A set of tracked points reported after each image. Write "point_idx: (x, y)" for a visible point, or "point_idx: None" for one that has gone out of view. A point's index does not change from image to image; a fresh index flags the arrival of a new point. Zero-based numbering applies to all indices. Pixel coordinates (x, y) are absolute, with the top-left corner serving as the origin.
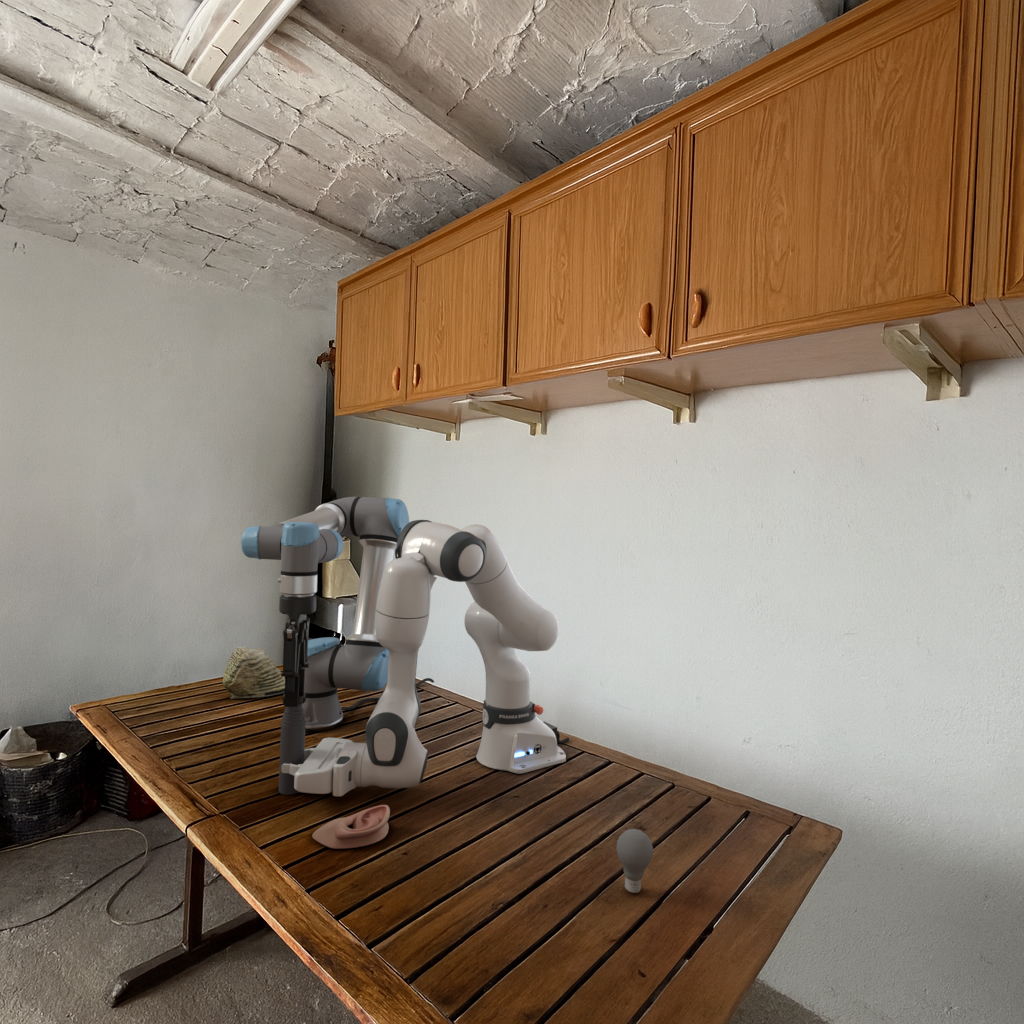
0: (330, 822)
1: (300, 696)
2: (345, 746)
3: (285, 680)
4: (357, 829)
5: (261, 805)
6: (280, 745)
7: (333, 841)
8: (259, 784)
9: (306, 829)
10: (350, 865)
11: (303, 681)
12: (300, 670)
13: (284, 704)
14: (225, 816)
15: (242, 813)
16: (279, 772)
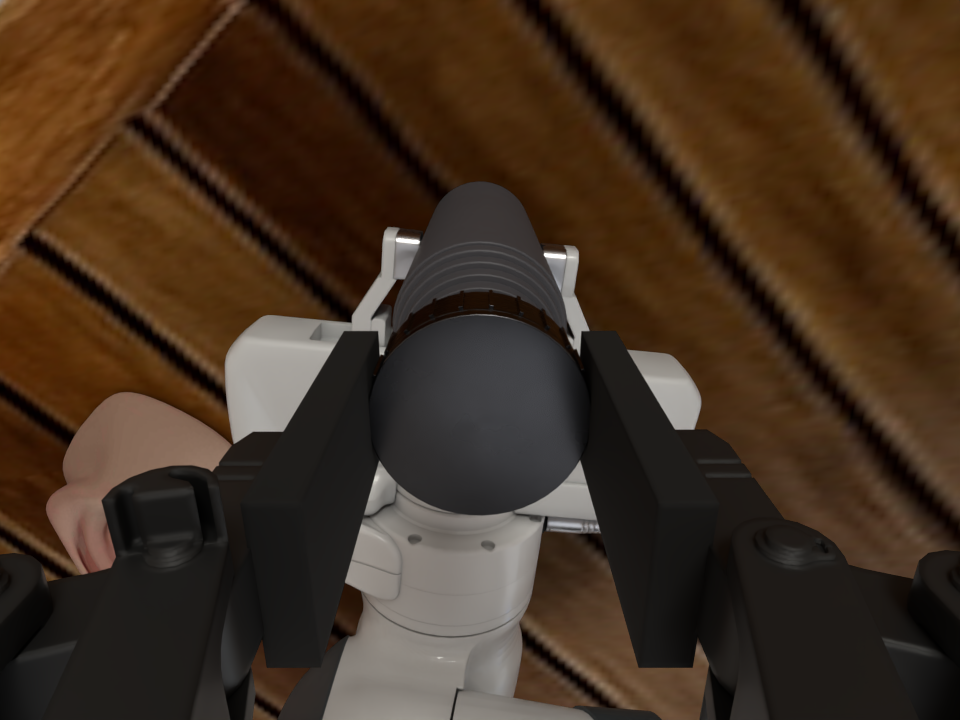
0: (173, 446)
1: (419, 487)
2: (421, 555)
3: (266, 467)
4: (91, 547)
5: (332, 146)
6: (450, 219)
7: (70, 470)
8: (533, 74)
9: (174, 360)
10: (3, 516)
11: (604, 544)
12: (640, 612)
13: (341, 340)
14: (223, 14)
15: (257, 84)
16: (456, 197)
